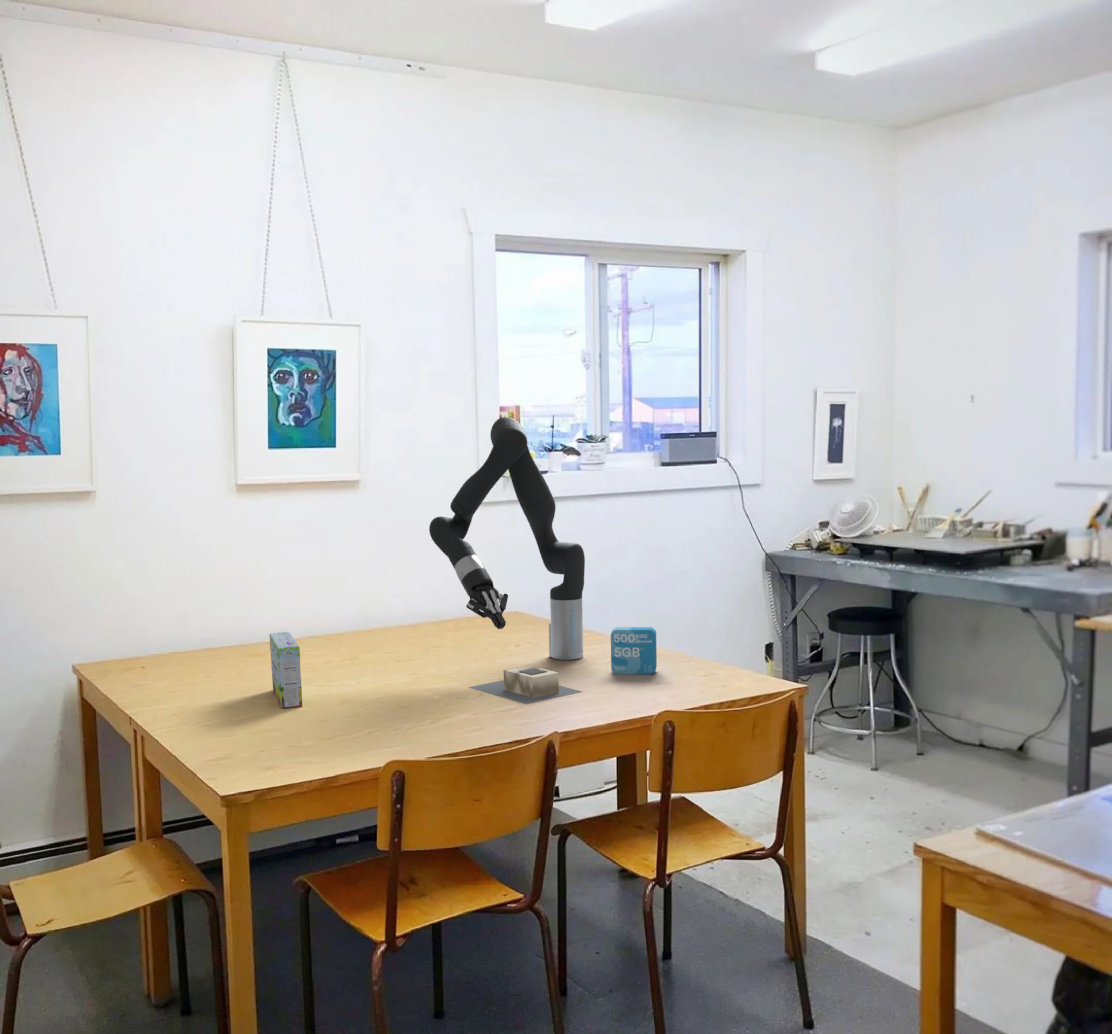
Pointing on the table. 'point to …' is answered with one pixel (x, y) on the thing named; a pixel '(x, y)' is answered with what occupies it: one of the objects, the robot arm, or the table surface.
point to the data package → (633, 650)
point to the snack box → (286, 669)
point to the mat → (498, 690)
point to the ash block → (531, 681)
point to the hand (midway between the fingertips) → (502, 627)
